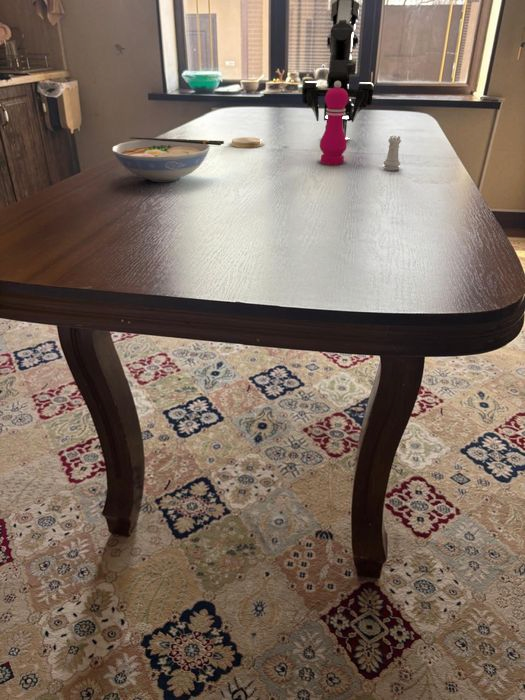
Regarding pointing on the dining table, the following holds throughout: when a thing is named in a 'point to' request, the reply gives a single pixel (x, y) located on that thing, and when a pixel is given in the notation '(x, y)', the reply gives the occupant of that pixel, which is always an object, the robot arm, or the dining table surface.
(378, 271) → the dining table surface
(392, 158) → the rook chess piece
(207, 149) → the ramen bowl
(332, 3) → the robot arm
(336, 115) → the pepper mill
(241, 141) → the beige flat disc
